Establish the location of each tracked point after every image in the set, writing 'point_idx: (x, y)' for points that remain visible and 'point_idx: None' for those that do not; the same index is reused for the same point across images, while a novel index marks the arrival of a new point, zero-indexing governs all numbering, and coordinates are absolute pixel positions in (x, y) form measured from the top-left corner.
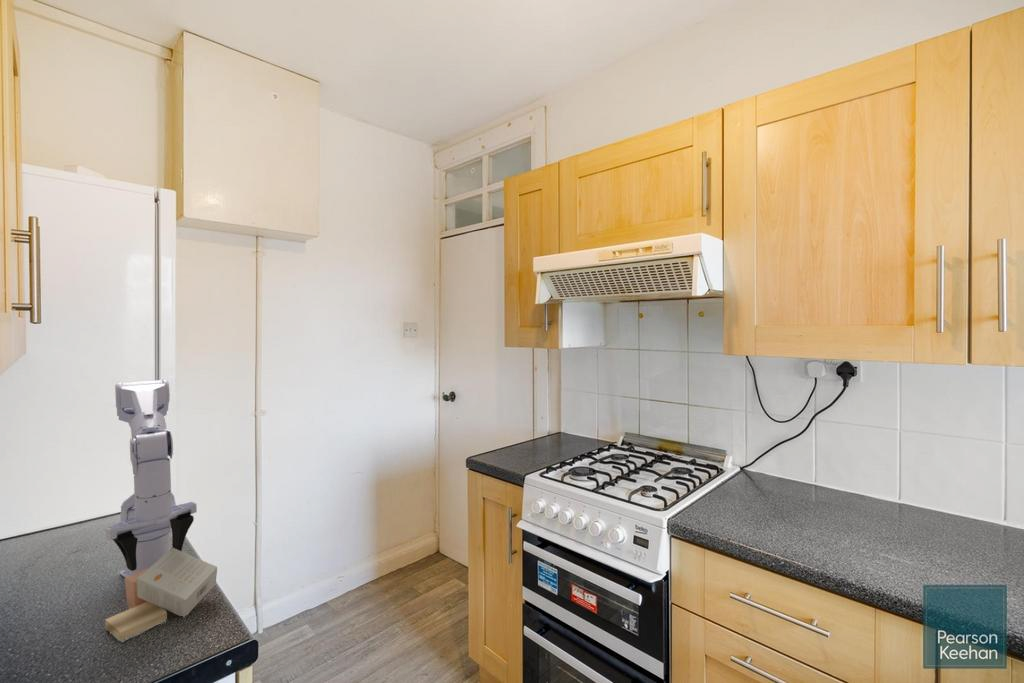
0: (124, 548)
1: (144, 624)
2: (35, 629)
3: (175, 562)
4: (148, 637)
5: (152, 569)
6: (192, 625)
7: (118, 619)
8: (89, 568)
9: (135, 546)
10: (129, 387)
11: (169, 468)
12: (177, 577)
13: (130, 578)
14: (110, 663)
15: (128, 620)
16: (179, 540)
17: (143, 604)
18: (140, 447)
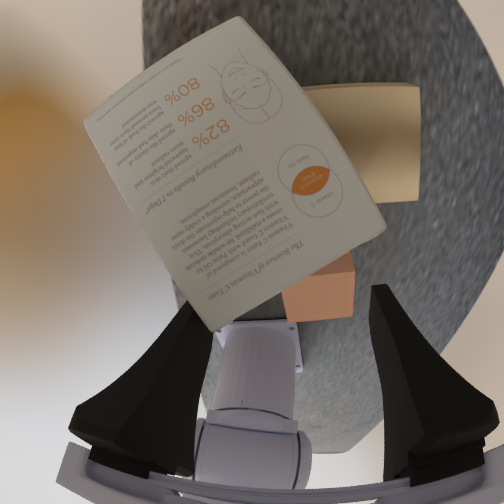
0: (466, 383)
1: (356, 86)
2: (456, 294)
3: (219, 231)
4: (349, 47)
5: (321, 244)
6: (237, 11)
7: (400, 169)
8: (325, 397)
9: (412, 384)
10: None
11: None
12: (233, 133)
13: (345, 302)
14: (438, 19)
15: (387, 137)
16: (173, 346)
17: None
18: None
